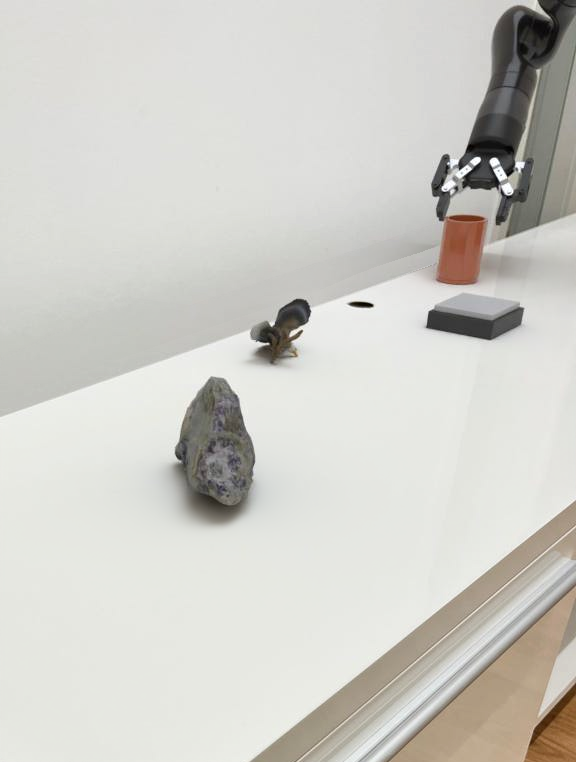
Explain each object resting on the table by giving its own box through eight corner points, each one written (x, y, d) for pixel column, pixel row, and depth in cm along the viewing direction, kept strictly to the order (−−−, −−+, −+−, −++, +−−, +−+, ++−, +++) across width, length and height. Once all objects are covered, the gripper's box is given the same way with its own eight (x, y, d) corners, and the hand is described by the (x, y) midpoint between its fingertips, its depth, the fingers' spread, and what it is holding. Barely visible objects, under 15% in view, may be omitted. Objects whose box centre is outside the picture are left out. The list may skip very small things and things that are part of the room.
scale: (521, 324, 139) (525, 301, 137) (490, 339, 134) (494, 316, 132) (457, 312, 144) (461, 291, 143) (425, 327, 139) (429, 304, 137)
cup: (484, 278, 160) (495, 217, 155) (466, 286, 156) (476, 223, 152) (447, 272, 164) (457, 212, 159) (428, 280, 160) (437, 219, 155)
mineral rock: (230, 525, 90) (236, 415, 85) (124, 501, 95) (123, 395, 89) (287, 473, 99) (295, 371, 94) (187, 453, 104) (190, 355, 99)
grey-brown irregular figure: (319, 357, 125) (324, 323, 132) (290, 309, 122) (296, 277, 128) (265, 385, 130) (272, 351, 136) (235, 340, 126) (244, 307, 133)
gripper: (450, 109, 159) (420, 201, 157) (547, 112, 153) (517, 208, 151) (453, 143, 166) (424, 231, 164) (546, 147, 160) (517, 238, 158)
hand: (469, 220), depth 157 cm, fingers open, 8 cm apart
